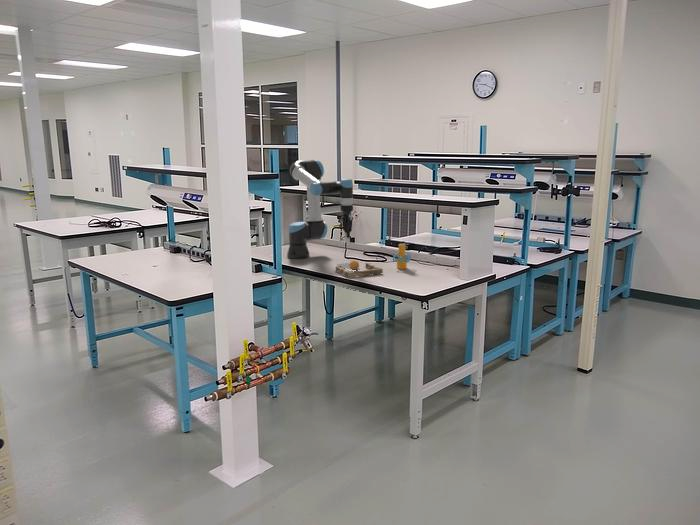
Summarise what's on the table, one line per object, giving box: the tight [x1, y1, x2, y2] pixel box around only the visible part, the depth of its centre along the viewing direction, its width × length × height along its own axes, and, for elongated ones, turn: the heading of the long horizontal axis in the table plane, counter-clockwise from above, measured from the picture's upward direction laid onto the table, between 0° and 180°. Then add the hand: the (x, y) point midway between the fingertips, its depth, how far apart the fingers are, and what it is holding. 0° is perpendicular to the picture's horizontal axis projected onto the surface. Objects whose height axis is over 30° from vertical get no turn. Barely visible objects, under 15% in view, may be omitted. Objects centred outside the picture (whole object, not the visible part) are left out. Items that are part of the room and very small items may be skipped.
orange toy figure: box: [392, 243, 412, 270], centre depth 322 cm, size 12×10×15 cm
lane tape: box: [336, 262, 361, 271], centre depth 324 cm, size 30×8×1 cm, turn 24°
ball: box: [349, 260, 360, 270], centre depth 320 cm, size 6×6×6 cm
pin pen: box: [335, 262, 384, 278], centre depth 315 cm, size 19×22×3 cm
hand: (347, 242), depth 326 cm, fingers closed
